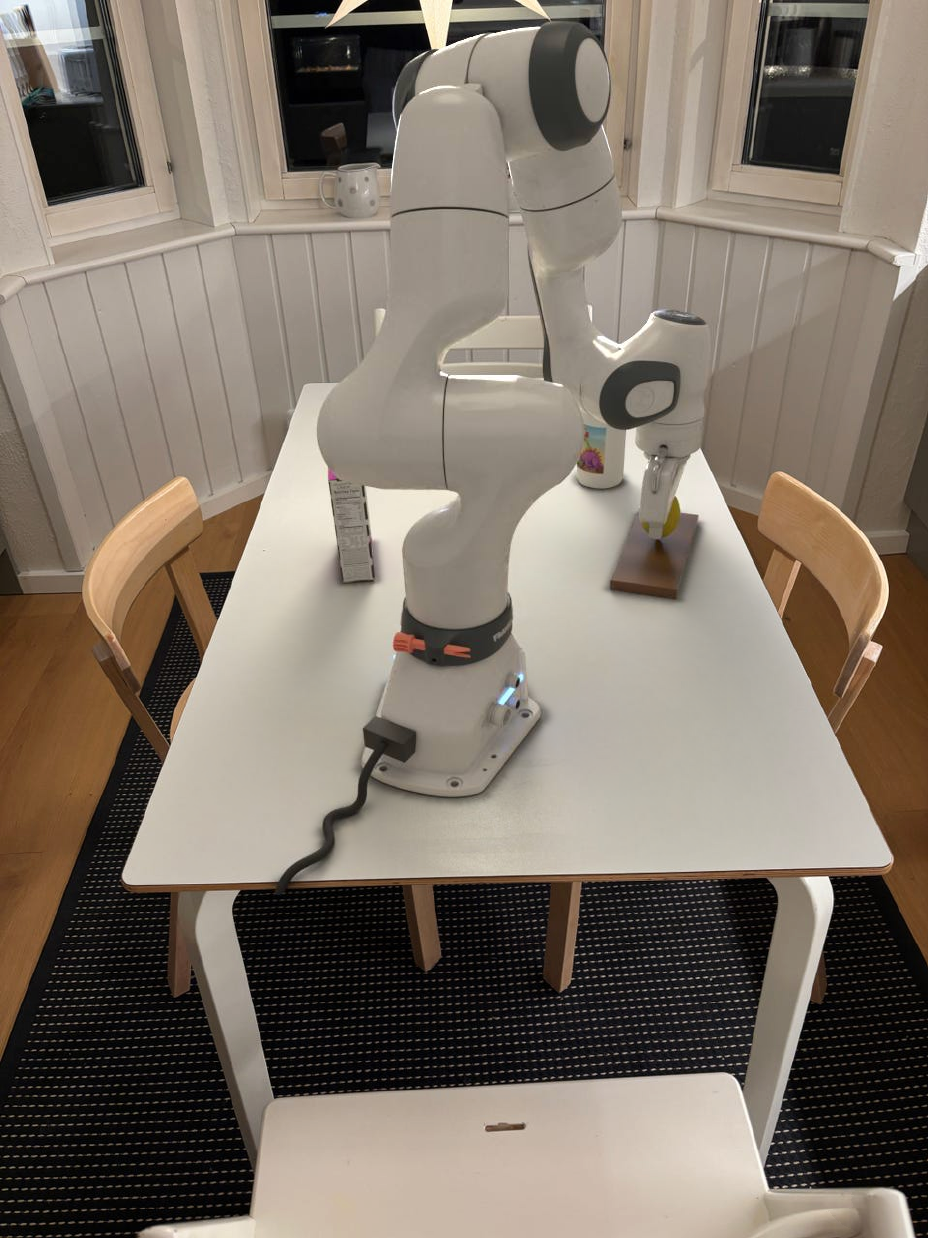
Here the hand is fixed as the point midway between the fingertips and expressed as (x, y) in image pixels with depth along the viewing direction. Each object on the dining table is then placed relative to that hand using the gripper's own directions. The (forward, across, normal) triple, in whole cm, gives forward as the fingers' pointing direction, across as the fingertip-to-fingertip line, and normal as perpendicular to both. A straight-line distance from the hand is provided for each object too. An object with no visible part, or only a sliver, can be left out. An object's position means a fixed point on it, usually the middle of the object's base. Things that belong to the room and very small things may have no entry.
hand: (660, 522), depth 137 cm
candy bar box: (+4, -16, +41) cm, 44 cm away
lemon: (+3, 0, 0) cm, 3 cm away
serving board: (+4, -2, 0) cm, 5 cm away
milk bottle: (+4, +20, +13) cm, 24 cm away
